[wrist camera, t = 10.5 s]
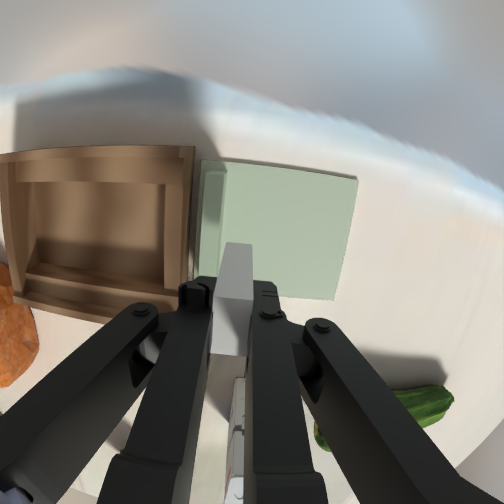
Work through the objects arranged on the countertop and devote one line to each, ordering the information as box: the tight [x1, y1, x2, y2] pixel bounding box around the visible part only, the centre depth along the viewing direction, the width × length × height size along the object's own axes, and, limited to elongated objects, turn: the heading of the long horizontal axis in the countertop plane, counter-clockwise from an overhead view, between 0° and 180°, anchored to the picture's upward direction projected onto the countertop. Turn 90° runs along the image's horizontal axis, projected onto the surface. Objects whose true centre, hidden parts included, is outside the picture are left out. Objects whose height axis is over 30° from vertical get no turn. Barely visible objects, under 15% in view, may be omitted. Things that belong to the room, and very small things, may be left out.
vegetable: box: [314, 385, 454, 452], centre depth 27 cm, size 7×7×20 cm
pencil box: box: [0, 145, 195, 324], centre depth 20 cm, size 16×13×5 cm
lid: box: [194, 160, 359, 301], centre depth 22 cm, size 12×10×4 cm
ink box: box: [224, 378, 245, 504], centre depth 24 cm, size 8×5×12 cm, turn 172°
